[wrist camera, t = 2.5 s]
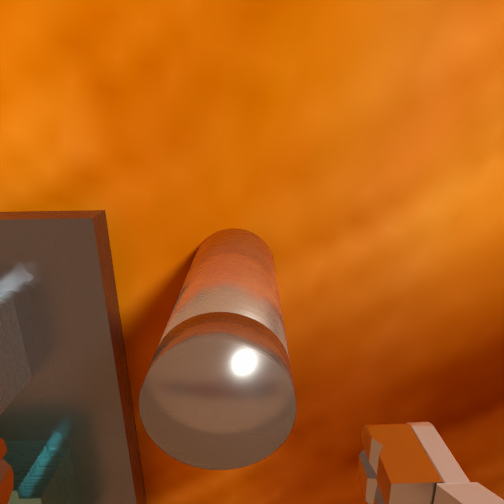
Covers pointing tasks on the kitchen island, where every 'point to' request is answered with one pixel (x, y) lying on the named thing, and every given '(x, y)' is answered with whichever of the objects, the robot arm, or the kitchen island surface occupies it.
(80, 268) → the manifold plate
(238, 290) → the fitting
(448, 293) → the kitchen island surface
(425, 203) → the kitchen island surface
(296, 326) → the kitchen island surface
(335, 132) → the kitchen island surface
